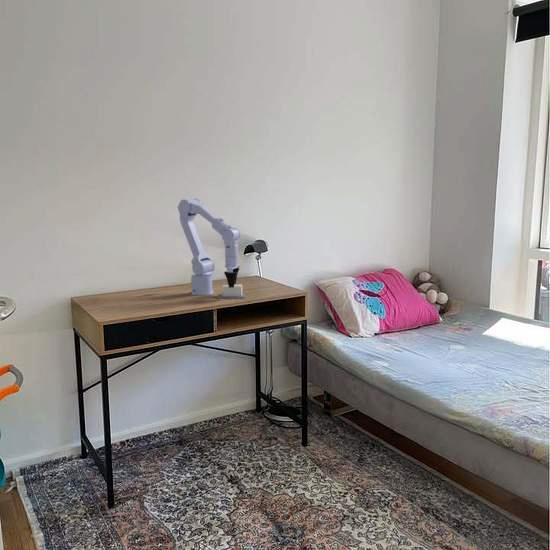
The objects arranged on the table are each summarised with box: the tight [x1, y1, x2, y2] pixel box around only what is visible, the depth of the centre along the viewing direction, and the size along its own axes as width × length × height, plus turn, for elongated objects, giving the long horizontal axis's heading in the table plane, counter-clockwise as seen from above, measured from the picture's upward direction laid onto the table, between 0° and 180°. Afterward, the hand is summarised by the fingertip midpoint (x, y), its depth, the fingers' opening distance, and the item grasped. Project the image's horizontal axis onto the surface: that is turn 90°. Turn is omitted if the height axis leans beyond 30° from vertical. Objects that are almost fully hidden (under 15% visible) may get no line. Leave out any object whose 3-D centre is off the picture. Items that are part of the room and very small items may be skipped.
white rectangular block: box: [221, 284, 243, 296], centre depth 245 cm, size 4×8×4 cm, turn 87°
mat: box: [216, 292, 247, 299], centre depth 246 cm, size 12×9×1 cm
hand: (232, 285), depth 245 cm, fingers open, 7 cm apart
